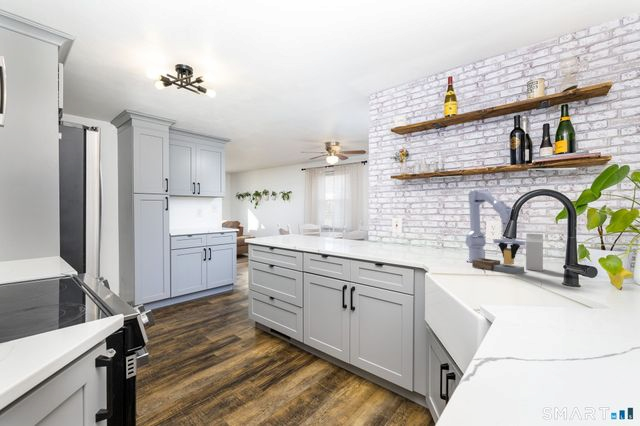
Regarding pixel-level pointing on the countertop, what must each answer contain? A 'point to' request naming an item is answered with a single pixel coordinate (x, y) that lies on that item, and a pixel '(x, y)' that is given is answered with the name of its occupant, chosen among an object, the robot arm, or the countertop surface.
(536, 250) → the milk carton
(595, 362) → the countertop surface
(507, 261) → the plug
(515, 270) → the lower jack
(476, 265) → the upper jack
